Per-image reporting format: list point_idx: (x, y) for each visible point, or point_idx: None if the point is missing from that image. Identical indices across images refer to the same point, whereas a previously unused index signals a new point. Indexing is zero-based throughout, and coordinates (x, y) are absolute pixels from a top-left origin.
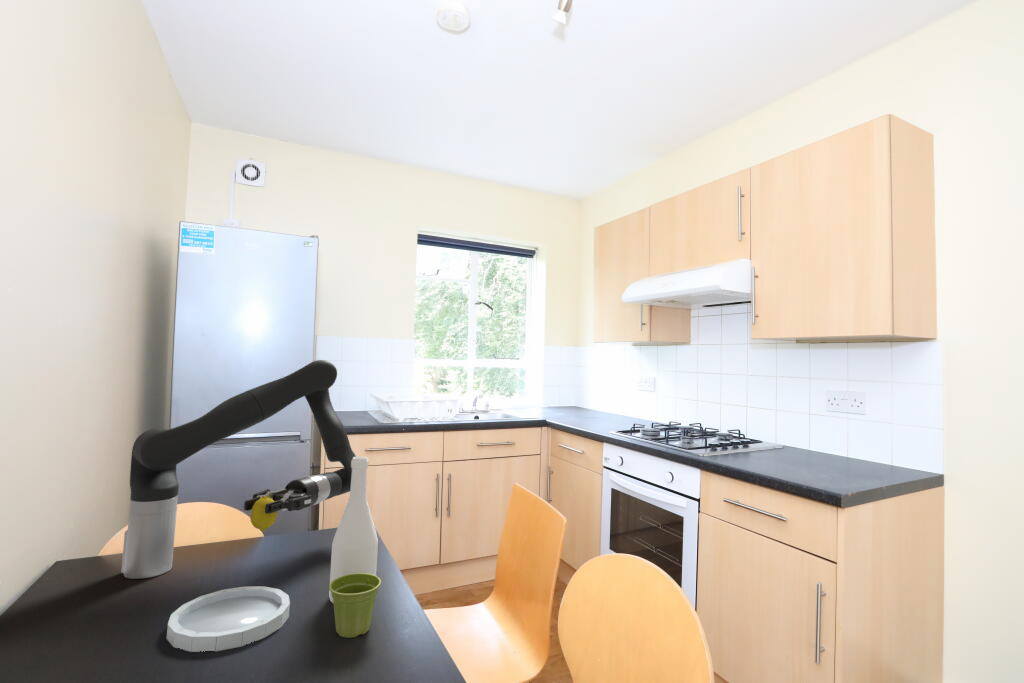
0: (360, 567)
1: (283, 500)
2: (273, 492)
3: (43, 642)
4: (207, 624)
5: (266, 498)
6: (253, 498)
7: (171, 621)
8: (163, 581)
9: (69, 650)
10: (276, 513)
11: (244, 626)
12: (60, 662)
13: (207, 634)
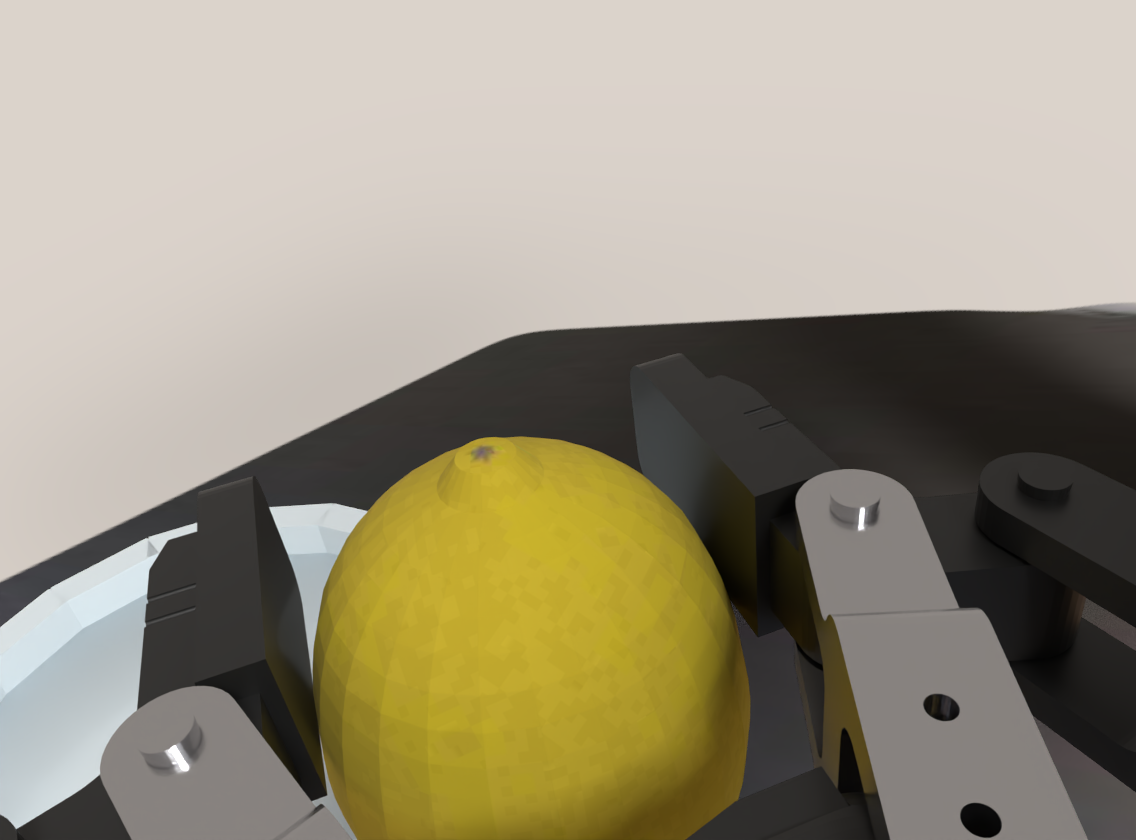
0: None
1: (124, 728)
2: (852, 705)
3: (651, 360)
4: None
5: (435, 485)
6: (757, 428)
7: (342, 513)
8: None
9: (536, 392)
10: (358, 832)
11: (58, 734)
12: (479, 382)
13: (101, 572)
